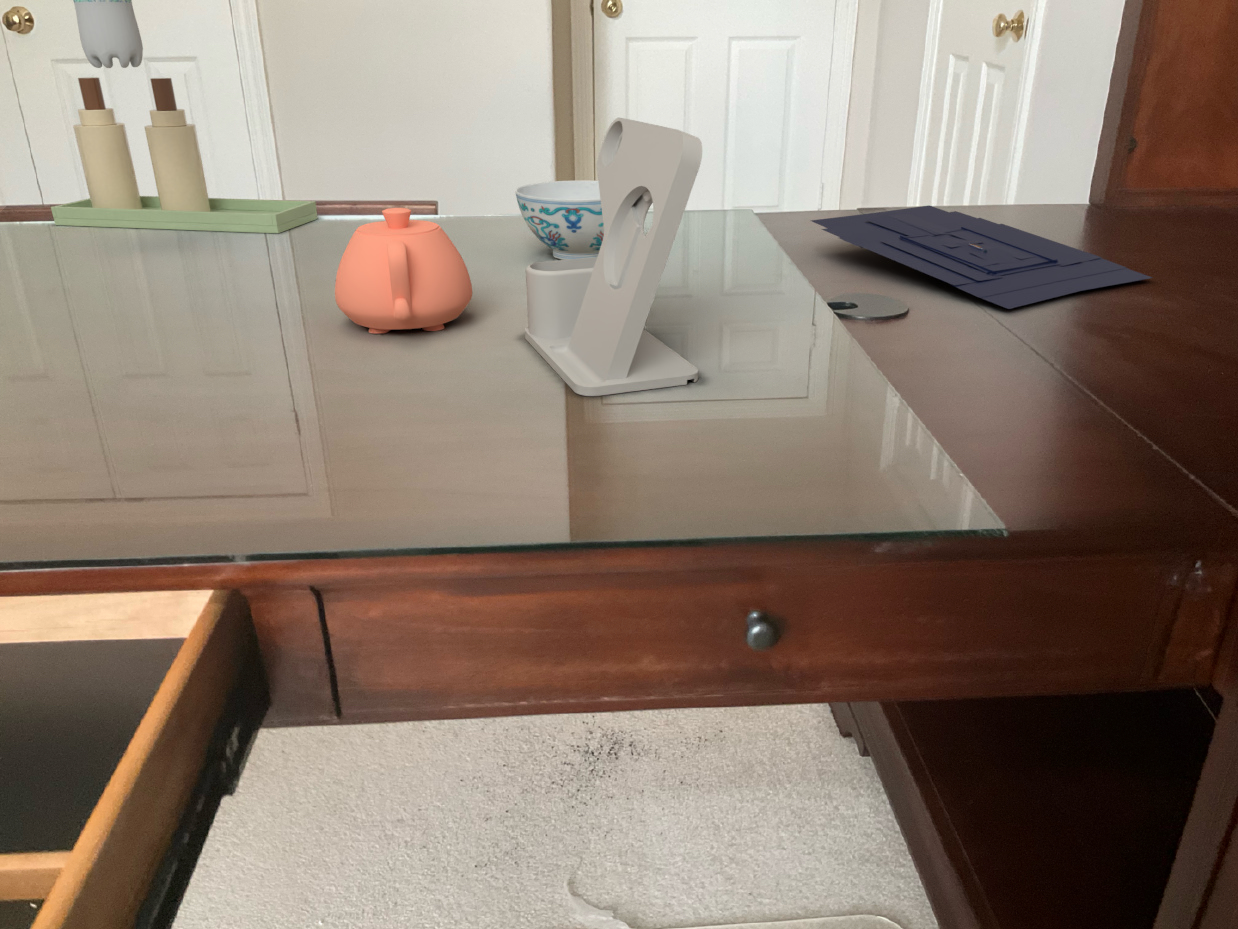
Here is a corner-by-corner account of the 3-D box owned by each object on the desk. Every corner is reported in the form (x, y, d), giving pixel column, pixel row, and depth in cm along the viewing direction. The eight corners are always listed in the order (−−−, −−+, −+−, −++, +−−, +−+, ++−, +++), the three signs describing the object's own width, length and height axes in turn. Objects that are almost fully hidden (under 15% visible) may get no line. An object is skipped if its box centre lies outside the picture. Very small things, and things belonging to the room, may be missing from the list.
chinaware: (543, 274, 103) (540, 203, 100) (502, 248, 115) (498, 184, 112) (664, 262, 108) (665, 194, 105) (612, 238, 121) (612, 177, 118)
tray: (55, 225, 131) (50, 206, 130) (108, 211, 141) (105, 194, 140) (278, 233, 125) (275, 214, 124) (318, 218, 135) (315, 201, 134)
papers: (934, 224, 122) (941, 197, 120) (1145, 301, 101) (1158, 269, 99) (793, 244, 111) (798, 214, 109) (998, 336, 89) (1009, 300, 87)
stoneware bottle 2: (154, 215, 132) (126, 78, 124) (197, 209, 136) (173, 76, 129) (175, 220, 128) (147, 79, 121) (219, 214, 133) (195, 77, 125)
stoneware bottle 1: (86, 212, 134) (54, 77, 126) (131, 207, 138) (102, 76, 131) (105, 217, 130) (73, 78, 122) (150, 211, 134) (122, 77, 127)
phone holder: (520, 333, 83) (510, 118, 75) (627, 322, 86) (627, 114, 78) (580, 397, 68) (574, 138, 60) (706, 381, 71) (716, 132, 63)
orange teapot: (472, 301, 92) (465, 196, 88) (477, 343, 80) (469, 222, 76) (345, 307, 91) (331, 199, 86) (330, 351, 78) (313, 227, 74)
